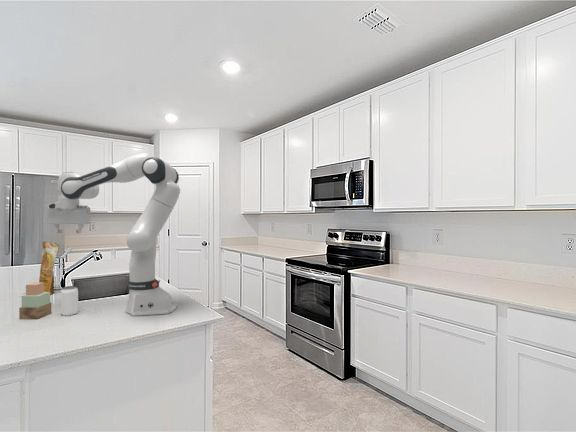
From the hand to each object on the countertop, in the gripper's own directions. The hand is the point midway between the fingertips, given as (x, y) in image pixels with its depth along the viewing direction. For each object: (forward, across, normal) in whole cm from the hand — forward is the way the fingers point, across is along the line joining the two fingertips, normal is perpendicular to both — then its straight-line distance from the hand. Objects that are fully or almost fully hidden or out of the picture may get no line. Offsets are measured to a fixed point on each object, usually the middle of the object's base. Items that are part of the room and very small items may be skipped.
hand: (68, 233), depth 163 cm
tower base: (+35, +3, +19) cm, 40 cm away
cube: (+25, +3, +19) cm, 32 cm away
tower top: (+30, +2, +19) cm, 36 cm away
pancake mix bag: (+35, +25, -21) cm, 48 cm away
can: (+35, -10, +16) cm, 40 cm away
